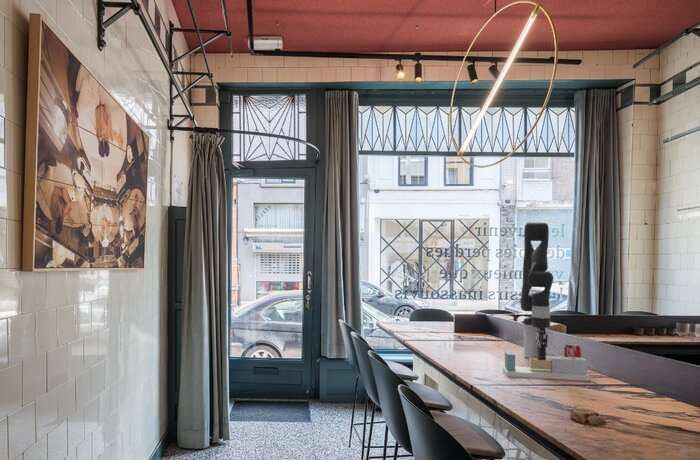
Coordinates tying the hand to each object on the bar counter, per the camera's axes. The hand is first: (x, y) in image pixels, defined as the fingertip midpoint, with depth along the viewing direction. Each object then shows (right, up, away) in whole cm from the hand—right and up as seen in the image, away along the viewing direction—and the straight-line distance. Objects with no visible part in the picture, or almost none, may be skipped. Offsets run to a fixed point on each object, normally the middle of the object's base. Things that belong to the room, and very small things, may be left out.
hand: (541, 355), depth 208 cm
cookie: (-10, -5, -60) cm, 61 cm away
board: (+1, -9, -1) cm, 9 cm away
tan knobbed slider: (+5, -6, -1) cm, 8 cm away
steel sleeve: (+11, -7, -2) cm, 13 cm away
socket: (-13, -7, +2) cm, 15 cm away
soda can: (+19, -10, +10) cm, 24 cm away
